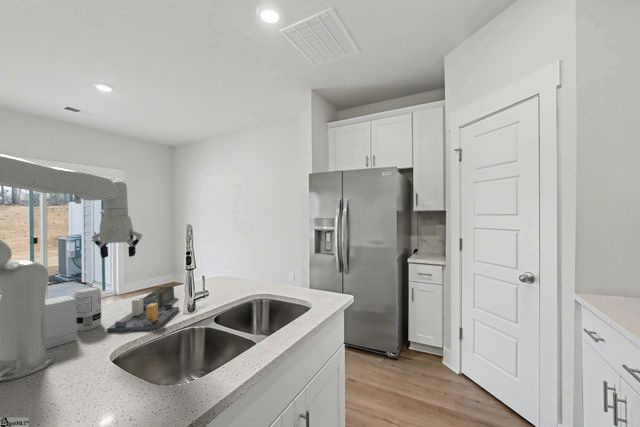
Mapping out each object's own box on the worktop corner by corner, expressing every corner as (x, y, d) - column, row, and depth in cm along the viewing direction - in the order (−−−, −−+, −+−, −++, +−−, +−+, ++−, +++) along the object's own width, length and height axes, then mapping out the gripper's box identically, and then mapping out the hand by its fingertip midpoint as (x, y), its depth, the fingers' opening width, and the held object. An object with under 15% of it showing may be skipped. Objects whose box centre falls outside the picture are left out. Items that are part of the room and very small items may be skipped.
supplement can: (70, 329, 107) (69, 291, 107) (95, 321, 114) (94, 285, 114) (80, 333, 103) (79, 293, 103) (105, 325, 110) (104, 288, 110)
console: (157, 329, 105) (157, 320, 105) (107, 332, 103) (107, 323, 103) (179, 310, 126) (178, 302, 126) (137, 312, 124) (137, 304, 124)
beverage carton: (141, 311, 126) (140, 297, 126) (158, 298, 145) (158, 286, 145) (159, 310, 127) (159, 296, 127) (174, 297, 146) (174, 285, 146)
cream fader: (138, 315, 115) (138, 299, 115) (132, 315, 115) (131, 300, 115) (143, 311, 119) (143, 296, 119) (137, 312, 119) (137, 297, 119)
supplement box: (77, 340, 98) (77, 298, 97) (42, 350, 90) (42, 305, 90) (69, 333, 103) (69, 294, 102) (35, 343, 95) (35, 301, 95)
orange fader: (153, 322, 108) (152, 306, 108) (146, 323, 107) (146, 306, 107) (157, 318, 112) (157, 302, 112) (151, 319, 111) (151, 303, 111)
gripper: (84, 214, 101) (87, 259, 102) (135, 213, 104) (137, 257, 105) (97, 213, 109) (100, 255, 109) (144, 212, 111) (146, 253, 112)
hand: (118, 256), depth 107 cm, fingers open, 9 cm apart
